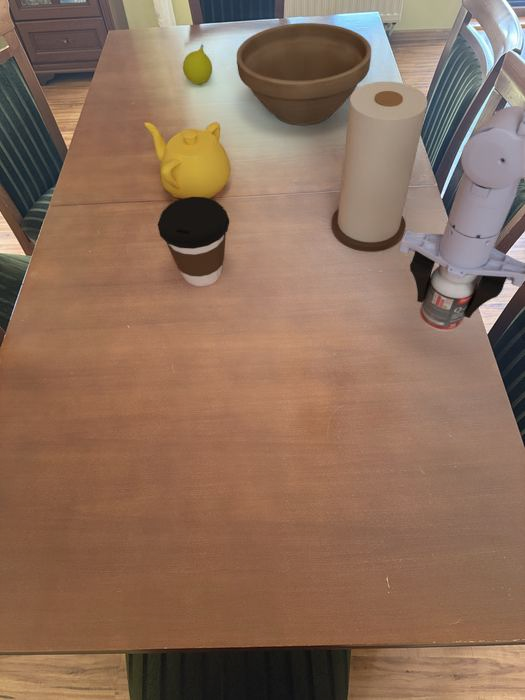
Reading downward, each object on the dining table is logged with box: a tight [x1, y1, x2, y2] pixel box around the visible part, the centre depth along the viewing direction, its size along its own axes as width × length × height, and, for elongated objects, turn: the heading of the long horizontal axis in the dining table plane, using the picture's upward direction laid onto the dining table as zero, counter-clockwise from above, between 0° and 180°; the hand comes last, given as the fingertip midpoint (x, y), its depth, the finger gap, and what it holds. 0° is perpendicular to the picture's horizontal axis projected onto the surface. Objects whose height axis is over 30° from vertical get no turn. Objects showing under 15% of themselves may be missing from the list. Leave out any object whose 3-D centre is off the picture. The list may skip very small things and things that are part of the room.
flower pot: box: [236, 22, 372, 126], centre depth 113 cm, size 28×28×13 cm
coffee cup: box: [157, 197, 230, 288], centre depth 81 cm, size 11×11×12 cm
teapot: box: [144, 121, 232, 199], centre depth 96 cm, size 14×14×12 cm
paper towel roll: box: [331, 81, 428, 253], centre depth 83 cm, size 13×13×24 cm
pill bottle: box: [419, 264, 479, 332], centre depth 66 cm, size 6×6×10 cm
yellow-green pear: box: [182, 43, 213, 85], centre depth 124 cm, size 7×7×10 cm
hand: (444, 304), depth 67 cm, fingers closed on pill bottle, 5 cm apart
